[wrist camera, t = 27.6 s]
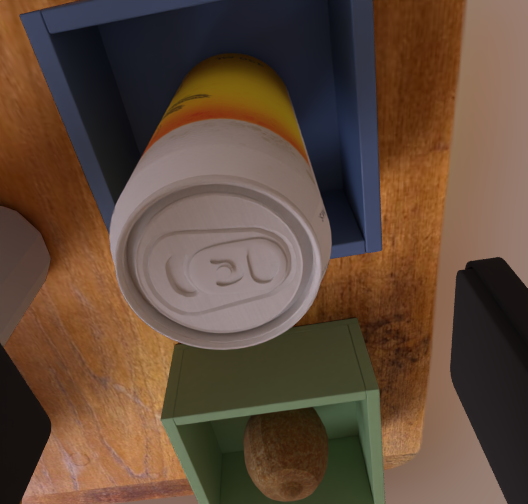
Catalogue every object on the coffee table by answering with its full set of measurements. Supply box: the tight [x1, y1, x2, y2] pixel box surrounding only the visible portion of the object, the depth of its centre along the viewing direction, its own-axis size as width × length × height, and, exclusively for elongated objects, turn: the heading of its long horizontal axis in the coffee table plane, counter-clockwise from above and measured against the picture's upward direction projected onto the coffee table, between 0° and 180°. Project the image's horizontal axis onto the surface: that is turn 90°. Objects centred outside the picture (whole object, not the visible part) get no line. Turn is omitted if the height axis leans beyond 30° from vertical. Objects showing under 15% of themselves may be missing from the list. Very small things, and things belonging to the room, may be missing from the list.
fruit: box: [243, 407, 329, 502], centre depth 33 cm, size 6×6×8 cm
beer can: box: [109, 53, 332, 350], centre depth 18 cm, size 6×6×15 cm
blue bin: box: [20, 0, 382, 259], centre depth 22 cm, size 13×13×7 cm
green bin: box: [161, 318, 385, 504], centre depth 34 cm, size 14×14×7 cm
